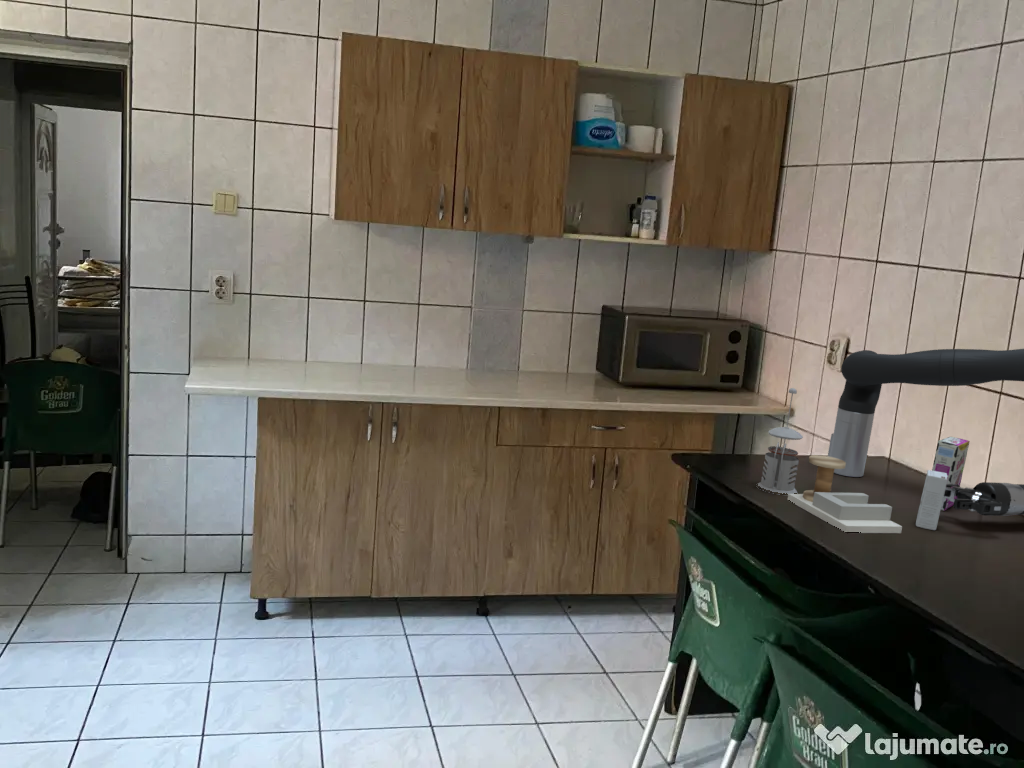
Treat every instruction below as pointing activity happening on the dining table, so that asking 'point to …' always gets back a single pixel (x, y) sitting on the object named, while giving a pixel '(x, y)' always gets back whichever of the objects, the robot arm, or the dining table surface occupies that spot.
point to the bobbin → (823, 474)
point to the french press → (781, 461)
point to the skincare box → (931, 500)
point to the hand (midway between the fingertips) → (941, 498)
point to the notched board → (846, 523)
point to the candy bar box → (951, 462)
